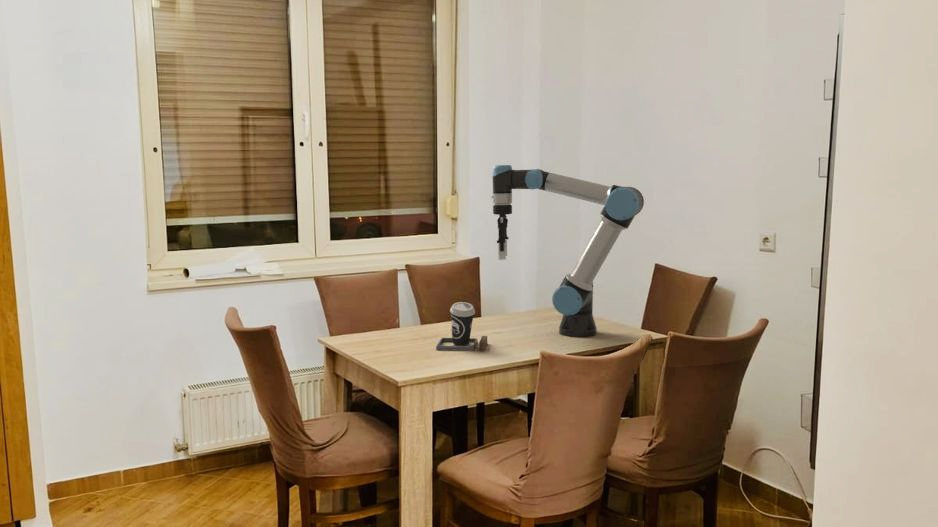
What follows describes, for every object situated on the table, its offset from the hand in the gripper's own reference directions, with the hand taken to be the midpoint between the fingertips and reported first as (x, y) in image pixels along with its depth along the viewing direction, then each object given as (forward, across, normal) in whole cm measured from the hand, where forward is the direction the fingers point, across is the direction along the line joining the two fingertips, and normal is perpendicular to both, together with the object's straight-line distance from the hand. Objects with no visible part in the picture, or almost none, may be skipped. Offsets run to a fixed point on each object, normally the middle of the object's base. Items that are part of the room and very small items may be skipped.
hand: (502, 257), depth 311 cm
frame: (+31, +21, -17) cm, 41 cm away
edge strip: (+31, +22, -7) cm, 39 cm away
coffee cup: (+31, +18, -16) cm, 39 cm away
